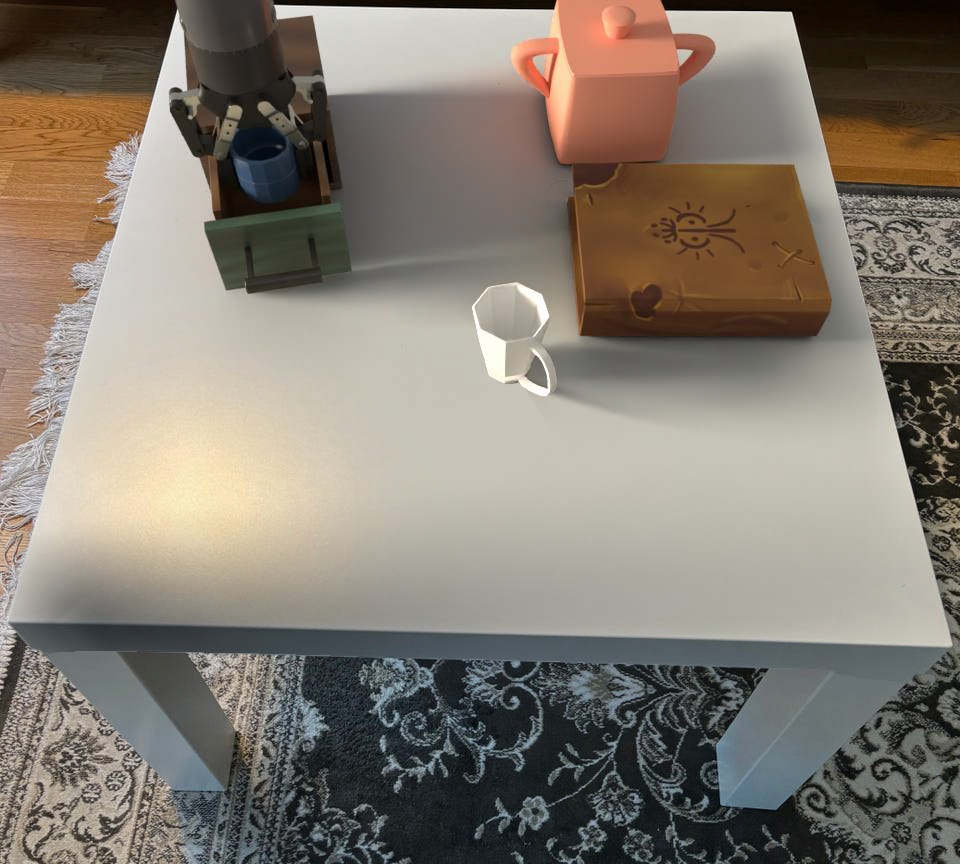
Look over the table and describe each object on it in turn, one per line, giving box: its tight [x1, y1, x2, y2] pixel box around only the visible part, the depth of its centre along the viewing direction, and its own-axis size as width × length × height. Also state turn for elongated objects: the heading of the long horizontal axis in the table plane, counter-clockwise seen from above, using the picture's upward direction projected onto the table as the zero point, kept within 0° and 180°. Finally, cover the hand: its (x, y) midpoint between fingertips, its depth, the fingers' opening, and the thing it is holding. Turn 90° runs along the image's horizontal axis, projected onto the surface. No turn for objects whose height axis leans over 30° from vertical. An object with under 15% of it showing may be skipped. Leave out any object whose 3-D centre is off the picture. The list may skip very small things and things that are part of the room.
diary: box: [566, 162, 833, 337], centre depth 89 cm, size 23×19×6 cm
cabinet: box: [183, 14, 344, 193], centre depth 96 cm, size 16×14×10 cm
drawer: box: [203, 120, 353, 295], centre depth 88 cm, size 20×13×8 cm, turn 12°
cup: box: [471, 281, 558, 397], centre depth 81 cm, size 7×10×8 cm
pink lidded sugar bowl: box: [510, 0, 717, 165], centre depth 98 cm, size 20×22×14 cm
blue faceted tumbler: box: [229, 125, 302, 204], centre depth 85 cm, size 6×6×6 cm
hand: (269, 176), depth 87 cm, fingers closed on blue faceted tumbler, 6 cm apart
